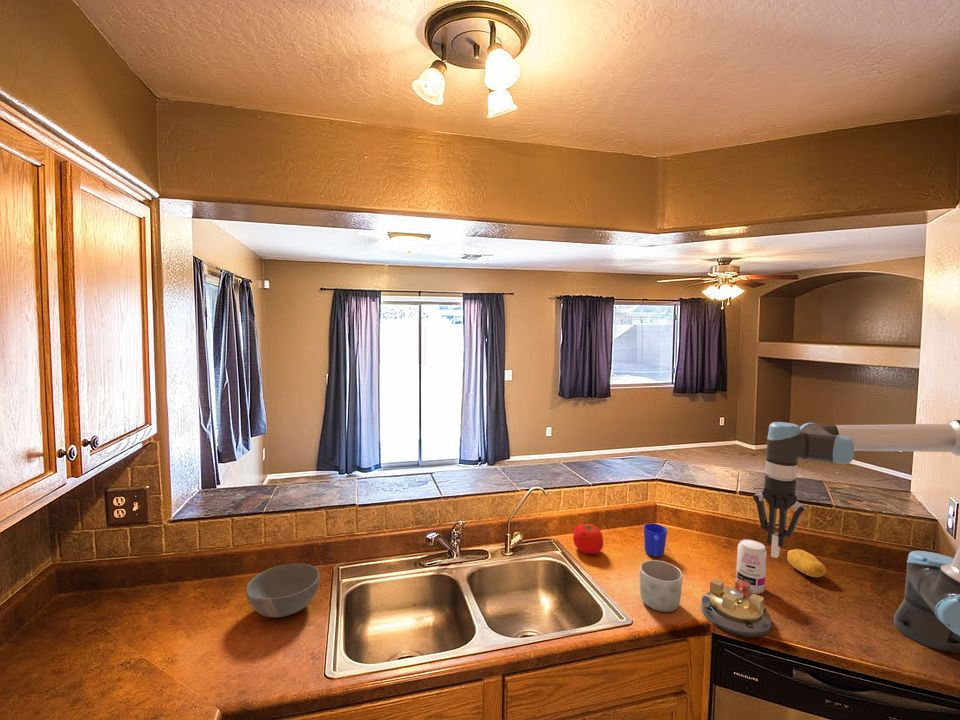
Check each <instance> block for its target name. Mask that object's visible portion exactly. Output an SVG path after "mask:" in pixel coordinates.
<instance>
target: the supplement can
mask: <svg viewBox="0 0 960 720" xmlns="http://www.w3.org/2000/svg"><path fill="white" fill-rule="evenodd" d="M736 555H737V556H736V572H735V582H736V581H737V580H738V579H740V580H743V581H746V582H748V583H750V592H749V593H750V594H756V595H759V594H762V593H763V592H765V587H766V586H765V585H766V572H767V555H768V551H767V550H766V546H765V545H764V544H763V543H762V542H759V541H756V540H753V539H749V538H747V539H746V538H745V539H740V542H739V543H738V544H737V554H736Z"/></svg>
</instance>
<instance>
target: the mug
mask: <svg viewBox="0 0 960 720" xmlns="http://www.w3.org/2000/svg"><path fill="white" fill-rule="evenodd" d="M667 533H668V529H667V528H666V527H665V526H663V525H661V524H658V523H646V524H644V525H643V538H644V539H643V541H644V542H643V543H644V551H645V553H646V554H647V555H649V556H651V557H654V558H655V557H656V558H659V557H662V556H664V554H665V550H666V549H665V548H666V543H667V535H668V534H667Z"/></svg>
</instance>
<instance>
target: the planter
mask: <svg viewBox="0 0 960 720" xmlns="http://www.w3.org/2000/svg"><path fill="white" fill-rule="evenodd" d="M683 577H684V574H683V572H682V571H681V569H680V568H678V566H675V565H674V564H672V563H670V562H667V561H663V560H657V559H651V560H645V561H643V562H642V563H641V564H640V565H639V591H640V597H641V600H642V601H643V603H644V604H645V605H647V607H648V608H650V609H653V610H655V611H657V612H662V613H670V612H673V611H675V610H677V608H678V607H679V606H680V603H681V598H682V591H683V590H682V588H683V579H684V578H683Z"/></svg>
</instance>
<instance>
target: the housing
mask: <svg viewBox="0 0 960 720" xmlns="http://www.w3.org/2000/svg"><path fill="white" fill-rule="evenodd" d="M729 594H731V595H733V596H736V597H738V599H737V602H739V603H740V602H743V593H742V592H741V591H739V590H737V589H730V590H729ZM709 596H710V591H708V592H707V593H705V594H703V596H702V598H701V607H700V608H701V612H702V614H703V615H704V617H705V618H706V619H707V620H708V621H709V622H710V623H712V624H713V625H714V626H716V627H717V628H719V629H721V630H723V631H726V632H728V633H731V634H733V635H737V636H742V637H747V638H758V637H759V638H760V637H764V636H765V635H767V634H769V632H771V625H772V624H771V623H772V618H771V614H770V613H769V612H768V610H767V608H766V607H765V606H763V618H762V619H761V620H760V621H759V622H756V623H742V622H737V621H734V620H731V619H728V618H726V617H724V616H722V615H720V614H719V613H717V612H716V611H715V610H714V609H713V608H712V607H711V605H710V603H709Z"/></svg>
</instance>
